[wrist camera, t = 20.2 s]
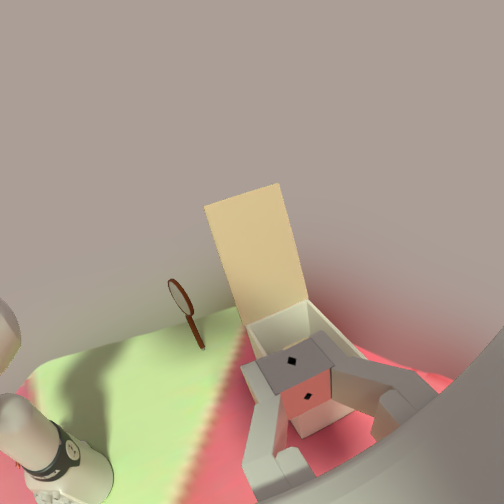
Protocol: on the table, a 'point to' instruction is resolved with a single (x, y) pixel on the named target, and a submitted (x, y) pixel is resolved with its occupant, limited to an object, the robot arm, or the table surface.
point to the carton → (290, 331)
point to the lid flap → (257, 252)
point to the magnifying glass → (185, 307)
